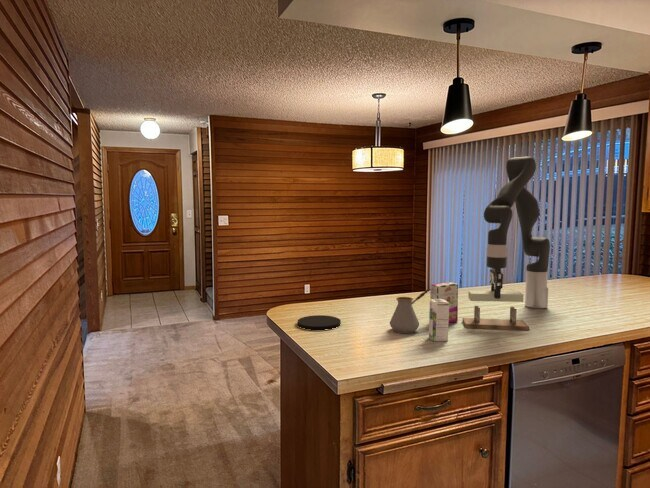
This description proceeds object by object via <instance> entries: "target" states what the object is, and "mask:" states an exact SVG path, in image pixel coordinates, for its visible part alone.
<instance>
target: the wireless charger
mask: <svg viewBox="0 0 650 488" xmlns="http://www.w3.org/2000/svg"><path fill="white" fill-rule="evenodd" d="M341 323H342V322H341V319H340V318H338V317H336V316H331V315H325V314H324V315H307V316H303V317H300V318H299V319H298V320H297V327H298V326H299V327H301V328H300V329H302V328H305V329H311V330H310V331H312V330H325V329H332V328H336V327H338V326H340V327H341V325H342V324H341ZM340 324H341V325H340ZM299 327H298V328H299ZM338 328H339V327H338ZM305 329H304V330H305ZM336 329H337V328H336ZM332 330H333V329H332ZM325 331H326V330H325Z"/></svg>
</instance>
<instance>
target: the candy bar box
mask: <svg viewBox="0 0 650 488" xmlns="http://www.w3.org/2000/svg"><path fill="white" fill-rule="evenodd" d="M429 289H431V290H432V291H431V290H429V292H430V293H429V294H430V295H429V296H430V299H444V300H445V301H447V302H449V324H454V323H458V322H459V321H458V318H459V317H458V315H459V309H458V308H459V305H458V303H459V293H458V292H459V284H458V283H456V282H452V281H449V282H442V283H434V284H430V288H429ZM431 292H432V293H431ZM430 299H429V300H430Z"/></svg>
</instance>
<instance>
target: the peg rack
mask: <svg viewBox="0 0 650 488" xmlns="http://www.w3.org/2000/svg"><path fill="white" fill-rule="evenodd" d="M473 309H474V310H473V311H474V312H473V317H462V324H463V325H464V328H465V329H466V328H467V329H484V330H485V329H489V330H510V331H511V330H512V331H514V330H515V331H530V325H528V324H527V323H526V321H525V320H523V319H517V308H515V306H510V307H509V319H507V318H506V319H505V318H501V319H500V318H481V317H480V316H481V308H480V307H479V305H474V307H473Z"/></svg>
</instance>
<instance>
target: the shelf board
mask: <svg viewBox="0 0 650 488" xmlns="http://www.w3.org/2000/svg"><path fill="white" fill-rule="evenodd" d="M467 291H468V297H467V298H468V299H469V300H470V301H471V302H504V303H507V302H509V303H510V302H512V303H515V302H516V303H524V297H525V296H524V293H522V292H520V291H516V290H515V291H512V290H511V291H510V290H508V291H507V290H506V291H505V290H501V293H500V299H495V298H494V291H491V290H467Z"/></svg>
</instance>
